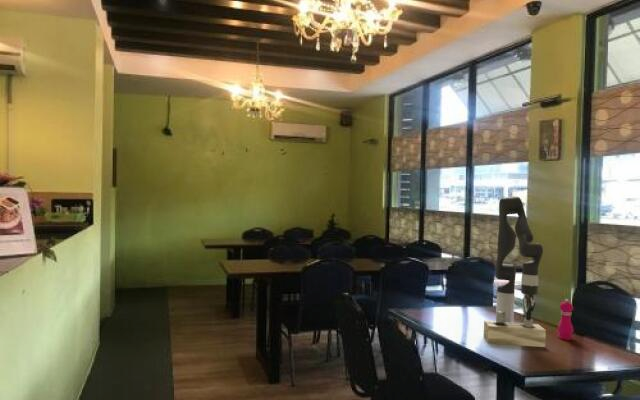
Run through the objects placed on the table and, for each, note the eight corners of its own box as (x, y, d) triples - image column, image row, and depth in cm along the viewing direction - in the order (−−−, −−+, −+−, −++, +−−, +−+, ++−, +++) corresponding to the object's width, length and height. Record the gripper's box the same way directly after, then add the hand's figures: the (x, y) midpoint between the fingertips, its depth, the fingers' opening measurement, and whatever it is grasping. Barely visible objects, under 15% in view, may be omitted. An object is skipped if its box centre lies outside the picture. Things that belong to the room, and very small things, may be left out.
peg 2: (522, 334, 249) (522, 318, 249) (530, 334, 249) (531, 318, 249) (524, 336, 245) (525, 320, 245) (533, 336, 245) (533, 320, 245)
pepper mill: (574, 340, 255) (576, 300, 255) (559, 339, 256) (561, 299, 256) (570, 336, 262) (572, 298, 262) (555, 335, 263) (557, 297, 263)
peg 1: (495, 326, 251) (495, 310, 251) (503, 327, 250) (504, 311, 250) (496, 328, 247) (497, 312, 247) (505, 329, 246) (506, 313, 246)
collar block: (483, 336, 255) (484, 320, 255) (537, 340, 252) (538, 324, 252) (488, 343, 243) (489, 326, 243) (545, 347, 240) (545, 330, 240)
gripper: (518, 281, 254) (516, 315, 254) (525, 285, 241) (523, 322, 241) (533, 282, 253) (532, 317, 253) (541, 286, 240) (540, 323, 240)
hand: (528, 319), depth 247 cm, fingers closed
